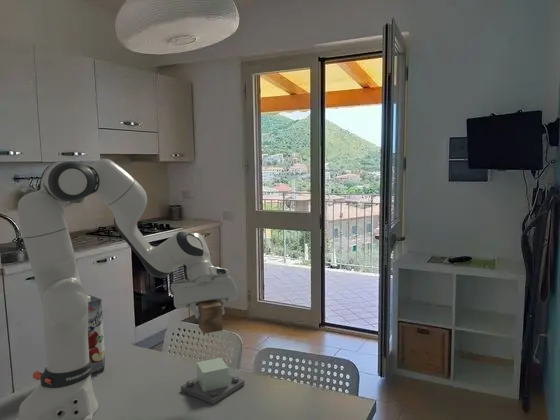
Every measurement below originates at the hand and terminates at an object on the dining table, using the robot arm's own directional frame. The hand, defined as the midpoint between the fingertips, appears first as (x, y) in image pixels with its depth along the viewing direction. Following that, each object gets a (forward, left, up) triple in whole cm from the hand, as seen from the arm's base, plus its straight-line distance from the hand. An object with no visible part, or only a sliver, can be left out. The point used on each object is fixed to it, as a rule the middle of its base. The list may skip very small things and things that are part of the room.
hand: (210, 315), depth 136 cm
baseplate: (0, 0, -24) cm, 23 cm away
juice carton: (-17, +43, -24) cm, 52 cm away
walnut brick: (0, +1, -4) cm, 4 cm away
